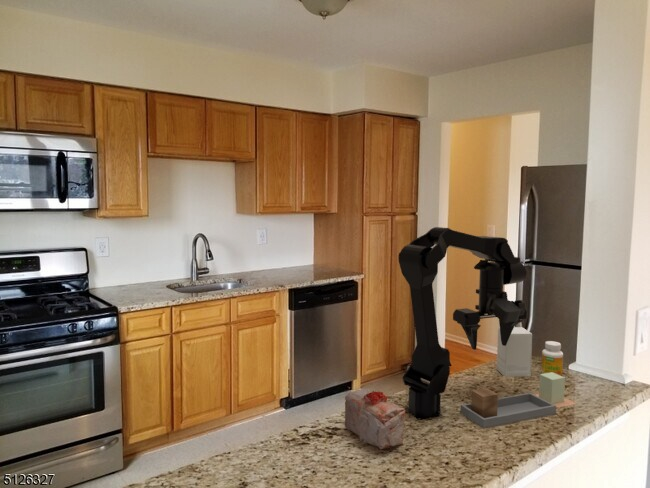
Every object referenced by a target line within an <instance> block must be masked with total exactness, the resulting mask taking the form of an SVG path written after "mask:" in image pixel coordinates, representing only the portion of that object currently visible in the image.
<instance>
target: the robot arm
mask: <svg viewBox="0 0 650 488" xmlns="http://www.w3.org/2000/svg"><path fill="white" fill-rule="evenodd" d="M449 247H451V248H454V249H459V250H463V251H469V252H470V253H472V255H473V256H475V257H477V258H479V259H480V260H479V262H477V263H476V264H475V265H474V267H473V269H475V270H479V281H478V282H479V285H478V286H479V288H476V289H475V294H477V295H478V304H475V310H473V309H470V308H456V309H455V310H454V311H453V314H452V321H454V322H456V323H457V324H459V325H460V326H461V328H462V329H463V331H464V333H465V335H466V338H467V340H468V342H469V345H470V347H471V349H472V350H474V351H476V350H477V345H478V330H479V329H480V328H481V324H479V323H480V321H481V320H483V319H490V318H491V319H493V318H497V319H498V323H499V327H500V336H501V342H502V345H503V346H506V344H507V342H508V339H509V337H510V335H511V332H512V330H513V328H514V327H517V325H519V323H523V321H524V320H526V319H528V311H527V309H526V302H525V301H523V300H522V299H517V300H514V301H513V300H509V298H508V293H507V291H504V286H507V285H511V284H517V283H522V282H524V281H525V280H526V278H527V274H528V271H527V269H526V267H525V265H524V264H523V263H522V262H521V257H518V256H515V255H514V253H513V250H512V248H511V246H510V244H509V242H508V239H507V238H505V237H500V236H499V237H498V236H487V235H486V236H485V235H473V234H469V233H465V232H461V231H457V230H453V229H451V228H450V227H442V226H441V227H440V226H439V227H438V226H436V227H432V228H431V229H429V230H428V231H427V232H426V233H425V234H423V235H420V236H419V237H417V238H415V239H412V240H411V241H410V242H409V244H406V245H404V246H403V247H402V249H401V250H400V251H399V252H398V264H399V268H400V271H401V274H402V276H403V278H404V279H405V280H406V282H407V284H408V286H409V290H410V299H411V307H412V313H413V323H414V331H415V339H416V346H415V347H414V349H413V352H412V354H411V364H410V365H409V367H408V368H407V370H406V371H405V373H404V374H403V375H402V382H403V385H404V386H407V387H408V407H406V408H404V409H405V412H407V413H409V414H410V416H411V415H412V416H413V417H414V418H415V419H417V420H418V421H423V420H428V419H435V418H439V417H443V414H442V413H441V400H442V399H441V394H443V393H445V392H446V388H447V384H448V381H449V377H450V373H451V372H450V371H451V367H452V363H451V361H450V360H451V358H450V357H451V355H450V351H449V349H448V348H445V347H442V346H441V344H440V342H439V334H438V327H437V326H438V325H437V314H436V308H435V307H436V306H435V297H434V290H433V283H434V281H435V279H436V277H437V275H438V271H439V269H438V266H439V263H440V262H441V261H442V260H444V258H445V257H446V254H447V251H448V248H449ZM476 310H477V311H476Z"/></svg>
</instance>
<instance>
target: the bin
mask: <svg viewBox="0 0 650 488" xmlns="http://www.w3.org/2000/svg"><path fill="white" fill-rule="evenodd" d="M460 414H461V415H462V416H464V417H465V418H467V419H469V420H470V421H472V422H474V424H475V425H477V426H479V427H481V428H482V429H488V428H492V427H498V426H502V425H509V424H513V423H518V422H523V421H527V420H533V419H538V418H543V417H548V416H554V415H556V414H557V408H556V405H554V404H552V403H550V402H548V401H546V400H544V399H542V398H540V397H538V396H536V395H534V393H532V392H526V393H521V394H516V395H515V394H514V395H509V396H504V397H498V407H497V416H493V417H488V418H483V417H482V416H480V415H478V414H477V413H475V412H474V411H472V410H471V402H469V403H464V404H463V403H462V404H460Z"/></svg>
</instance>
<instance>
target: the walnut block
mask: <svg viewBox="0 0 650 488" xmlns="http://www.w3.org/2000/svg"><path fill="white" fill-rule="evenodd" d="M470 395H471V399H470V400H471V402H470V403H471V410H472V411H474V412H475V413H477V414H478V415H480V416H482V417H483V418H488V417H493V416H497V407H498V398H499V394H498V393H497V392H495V391H493V390H490V388H488V387H484V388H483V387H482V388H477V389H471V394H470Z"/></svg>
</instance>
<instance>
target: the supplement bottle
mask: <svg viewBox="0 0 650 488" xmlns="http://www.w3.org/2000/svg"><path fill="white" fill-rule="evenodd" d="M561 350H562V344H561V343H560V342H558V341H556V340H555V341H553V340H547V341H545V342H544V349H542V351H541V368H540V369H541V370H540V374H544V373H550V372H553V373H555V374H558V375H560V376H562V377H563V369H564V368H563V366H564V353H563V351H561Z"/></svg>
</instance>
